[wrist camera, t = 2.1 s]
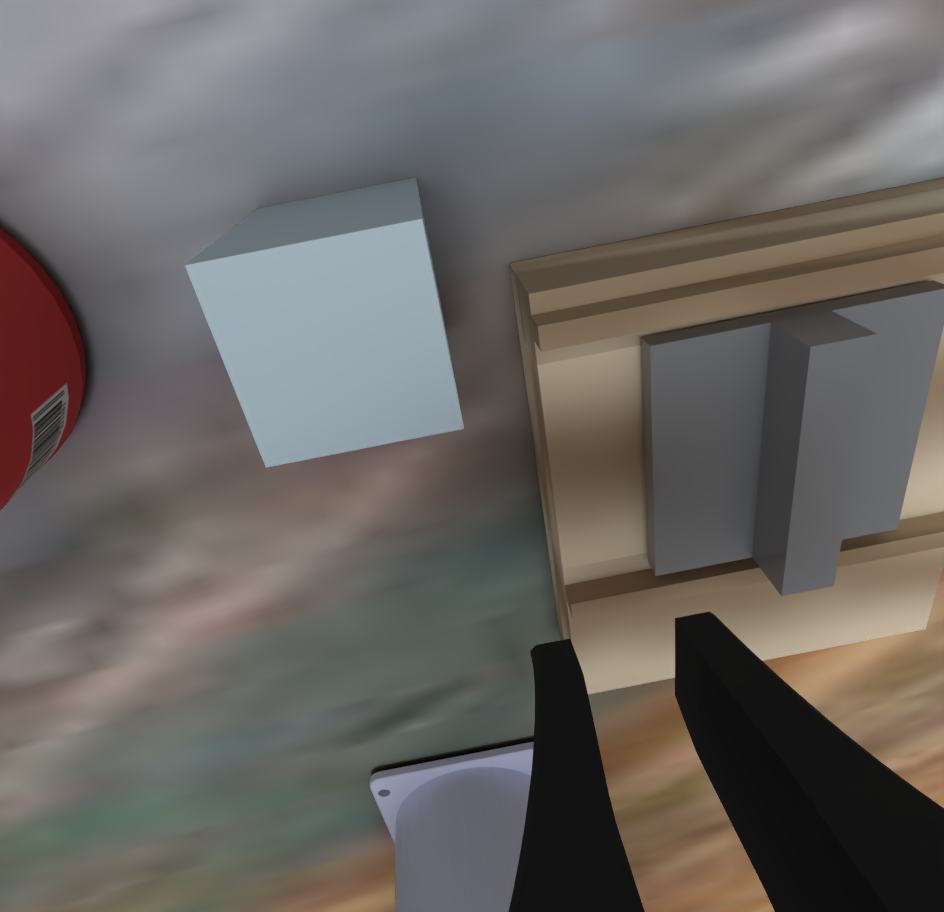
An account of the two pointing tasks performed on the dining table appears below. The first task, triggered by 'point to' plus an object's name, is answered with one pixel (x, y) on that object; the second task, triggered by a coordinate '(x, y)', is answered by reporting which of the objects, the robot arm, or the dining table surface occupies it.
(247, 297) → the block
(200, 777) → the dining table surface
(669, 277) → the pedestal
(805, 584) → the cover
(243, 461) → the dining table surface
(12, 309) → the canned food
